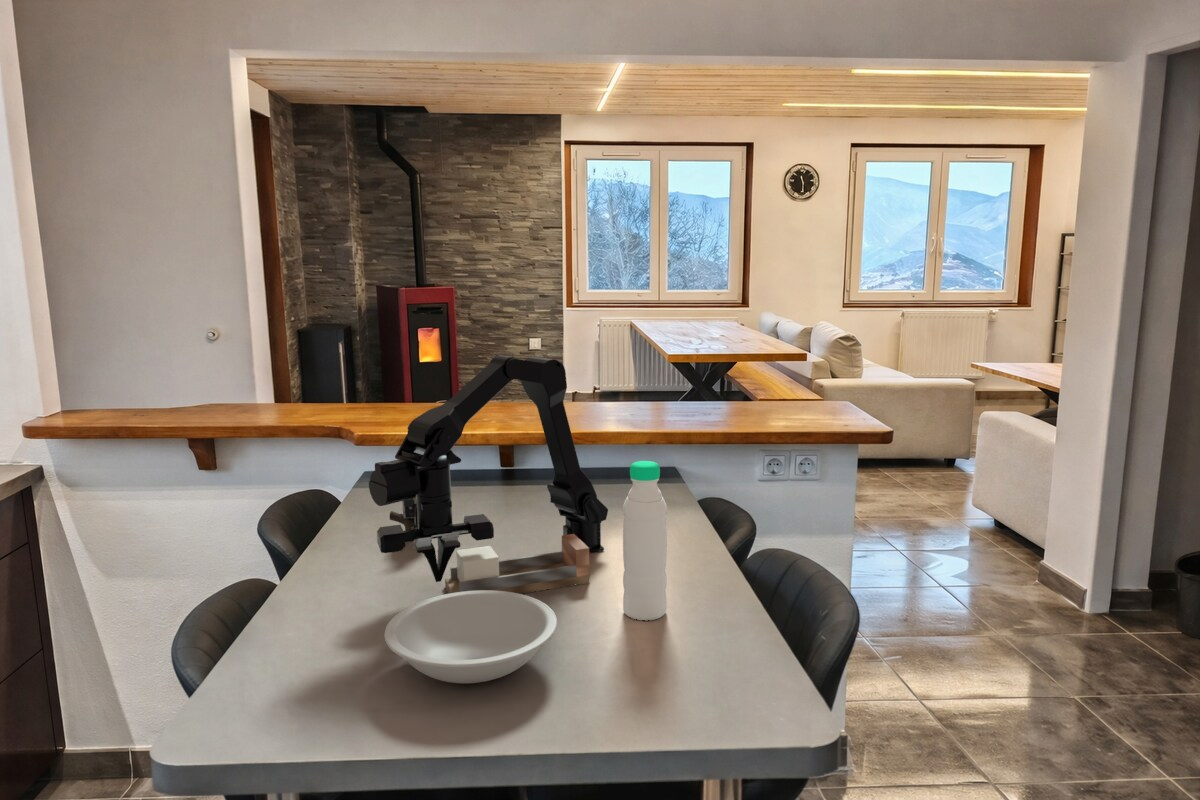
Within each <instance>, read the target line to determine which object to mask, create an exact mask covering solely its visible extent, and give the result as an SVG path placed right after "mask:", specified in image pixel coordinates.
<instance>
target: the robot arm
mask: <svg viewBox="0 0 1200 800" xmlns="http://www.w3.org/2000/svg"><path fill="white" fill-rule="evenodd" d="M513 380H517V381H520V383H521V385H522V387H523V391H524V392H525V393H526V395H527V396H528V397H529V398H530V400H531V401H532V402H533V404H534V405H535V407H536V408H537V412H538V414H539V419H540V423H541V425H542V426H541V427H542V430H543V433H544V438H545V440H546V444H547V448H548V452H549V456H550V459H551V463H552V466H553V470H554V476H553V479H552V482H551V483H548V484H547V485H546V486H547V488H546V489H547V491H548V492H549V495H550V504H553V505H554V507H556V509H557V510H558V513H559V515H560V516H561V517H565V520H564V521H565V524H563V526H562V535H570V534H575V535H576V536H577V537H578V538H579V539H580V540H581V541H582V542H583V543H584V544H585V545H586V546H588V547H589V553H595V552H596V553H597V552H601V551H602V552H603V551H604V550H605V547H604V546H603V545H602V544H601V536H602V535H601V534H602V532H601V530H602V529H601V524H602V522H603V521H604V522H605V521H606V520H607V517H608V513H609V508H607V506H606V505H604V504H603V503H602V502H601V500H600V499H599V498H598V494H597V492H596V490H595V487H594V485H593V483H592V481H591V480H590V478H589V477H588V476H587V475H586V474H585V472H584V471H583V469H582V468H581V466H580V461H579V457H578V454H577V451H576V447H575V446H576V445H575V442H574V438H573V435H572V431H571V427H570V424H569V419H568V415H567V412H566V407H565V404H564V399H565V395H566V393H567V389H568V383H567V374H566V368H565V365H564V364H563V362H561V361H559V360H557V359H553V358H545V357H539V356H529V357H526V358H525V359H518V358H516V357H514V356H510V355H509V356H508V355H502V354H499V355H496V356H494V357H493V358H492V359H491V360H490V362H489V364H487V365H486V366H485V367H484V368H483V369H482V370H480V372H478V373H477V374H476V375H475V376H474V377H473V378H472V379H471V380H470V381H468V382H467V383H466V384H465V385H464V386H463V387H462V388H461V389H460V390H458V391H457V392H456V393H455V394H454V395H453V396H452V397H451V398H450V399H448V400H447V401H446V402H444V403H442V404H441V405H439V406H435V407H433V408H431V409H428V410H426V411H425V412H423V413H422V414H420V415H418V416H416V417H415V418H414V419H412V421H411V422H410V423H408V426H407V434H406V435H405V437H404V438H403V441H402V443H401V445H400V447H399V448H398V450H397V452H396V454H395V456H394V458H395V460H391V461H390V460H389V461H380V462H379V461H378V462H375V463H374V471H372V473H371V474H370V477H369V481H368V488H369V493H370V495H371V499H372V500H373V502H374V503H375V504H376V505H377V506H379V507H382V506H387V505H391V504H395V503H400V502H402V514H403V516H404V519H406V518H415V525H416V526H418V528H414V529H411V530H405V529H403V527H402V525H401V524H392V525H386V526H380V527H379V528H378V529H377V531H376V538H377V539H376V540H377V545H378V549H379V551H380V553H381V554H389V553H396V552H402V551H403V549H404V548H405V547H406V545H407V544H406V543H409V542H412V545H413V547H414V549H415V550H414V551H416V553H418V554H423V555H424V557H425V559H426V560H427V563H428V564H429V565H428V566H429V568H430V571H431V572H432V573H431V574H432V575H433V577H434V580H435V582H436V583H438V582H439V583H441V582H442V580H443V576H444V574H445V571H446V569H447V567H448V564H449V561H450V559H451V557H452V556H453V553H454V552H455V550H456V549H458V548H459V549H460V548H461V545H462V543H461V542H460V540H459V539H460V536H461V535H462V536H463V535H469V534H470V536H471V538H473V539H474V540H475V541H484V540H492V539H493V538H494V537H495V533H494V532H495V531H494V529H495V528H494V525H493V522H492V521H491V520H490V519H489V517H488V516H487V515H486V514H484V513H481V514H480V513H479V514H473V515H465V516H464V518H463V522H461V523H454V524H453V504H452V503H453V502H452V484H451V483H452V481H451V466H450V465H455V464H460V463H461V462H462V458H461V457H459V456H457V455H456V454H455V453H454V452H453V450H452V449H453V447H454V446H456V445H455V444H457V442H458V441H459V440H460V439H461V437H462V435H463V431H464V428H465V426H466V425H467V423H468V422H469V421H470V420H471V419H472V418H473V417H474V416H475V415H476V414H478V412H479V411H481V409H483V408H484V407H485V406H486V405H487V404H488V403H489V402H490V401H491V400H493V399H494V398H495V397H496V396H497V395H498V394H499V393H500V392H501V391H502V390H503V389H504V388H505V387H506V386H507V385H509V384H510V383H511V382H512V381H513ZM416 451H420V452H423V454H422V453H419V452H416ZM415 496H416V500H417V503H416V504H415V502H414V499H412V498H414V497H415ZM408 499H409V500H408ZM433 539H437V555H436V548H435V546H434V544H433V542H432V541H433Z"/></svg>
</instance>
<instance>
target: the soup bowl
mask: <svg viewBox="0 0 1200 800" xmlns="http://www.w3.org/2000/svg"><path fill="white" fill-rule="evenodd" d="M557 628H558V618H557V616H556V613H555V611H554V610H553V609H552V608H551V607H550V606H549V605H548V604H547V603H545V602H543V601H541V600H539V599H537V598H535V597H532V596H529V595H525V594H518V593H513V592H506V591H493V590H477V591H464V592H456V593H450V594H449V593H446V594H441V595H437V596H433V597H429V598H426V599H423V600H421V601H418V602H416V603H414V604H411V605H409V606H407V607H405V608H404V609H402V610H401V611H400V612H397V613H396V614H395V615H394V616H393V617H392V618H391V619H390V620H389V622H388V623H387V625H386V627H385V630H384V640H385V643H386V645H387V647H388V649H390V650H391V651H392V652H393V653H394V655H395V654H396V655H397V656H399V657H400V658H402V659H404V660H405V661H406V662H407V663H408V664H409V665H410V666H412V668H414V669H416V670H417V672H418V671H419V672H420V673H421V674H424V675H425V676H427V677H430V678H432V679H435V680H437V681H441V682H447V683H453V684H477V683H485V682H490V681H492V680H497V679H499V678H502V677H505V676H507V675H509V674H511V673H514V672H515V671H517V670H518V669H520V668H521V667H523V666H524V665H526V664H527V663H528V662H529V661H530V660H531V659H532V658H533V656H534V655H536V653H537V652H538V651H539V650H540V648H542V647H543V646H544V645H545V644H547V643H548V642H549V641H550V640H551V639H552V638H553V636H554V635H555V633H556V631H557Z"/></svg>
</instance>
